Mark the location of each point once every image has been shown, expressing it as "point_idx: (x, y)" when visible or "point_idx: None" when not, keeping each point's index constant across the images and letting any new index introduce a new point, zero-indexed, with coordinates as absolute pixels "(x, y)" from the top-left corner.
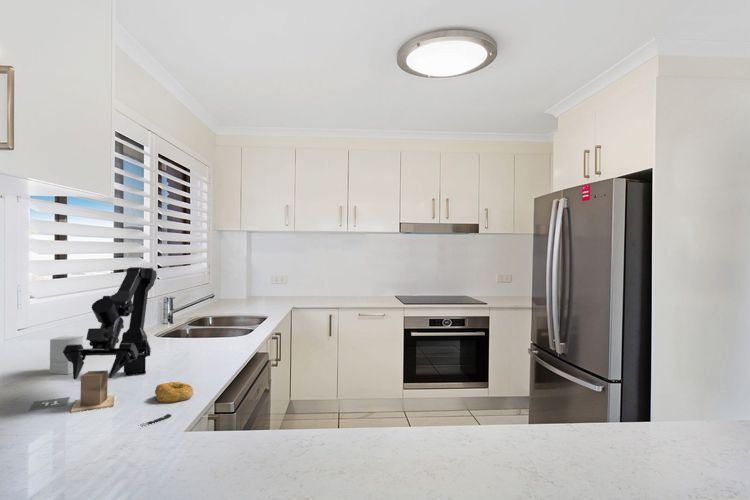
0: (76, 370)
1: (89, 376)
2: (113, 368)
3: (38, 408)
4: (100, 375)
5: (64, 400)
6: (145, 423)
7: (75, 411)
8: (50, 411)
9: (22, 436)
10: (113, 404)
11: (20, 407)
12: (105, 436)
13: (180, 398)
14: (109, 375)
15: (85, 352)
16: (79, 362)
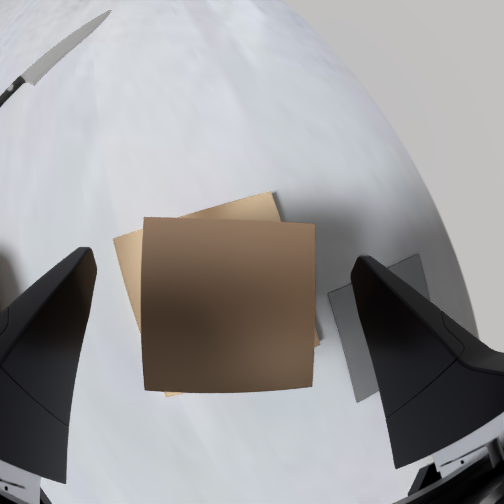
0: (391, 290)
1: (241, 220)
2: (40, 283)
3: (404, 274)
4: (144, 218)
5: (361, 361)
6: (25, 76)
7: (254, 196)
8: (355, 236)
9: (308, 51)
10: (115, 245)
11: (448, 298)
12: (106, 25)
13: None
14: (85, 249)
15: (454, 496)
16: (431, 384)
